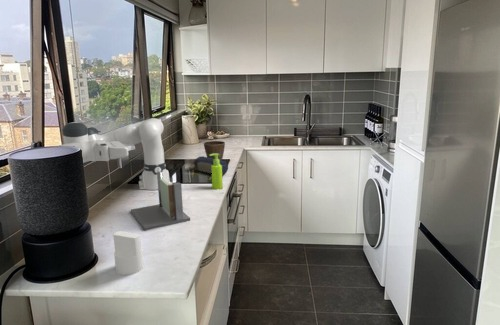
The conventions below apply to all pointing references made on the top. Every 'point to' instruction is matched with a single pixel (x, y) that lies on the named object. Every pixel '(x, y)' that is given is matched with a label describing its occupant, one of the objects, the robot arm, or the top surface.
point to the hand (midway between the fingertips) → (134, 146)
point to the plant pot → (214, 148)
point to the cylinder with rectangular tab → (128, 253)
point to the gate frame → (161, 210)
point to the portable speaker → (209, 164)
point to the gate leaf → (167, 196)
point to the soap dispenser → (216, 173)
